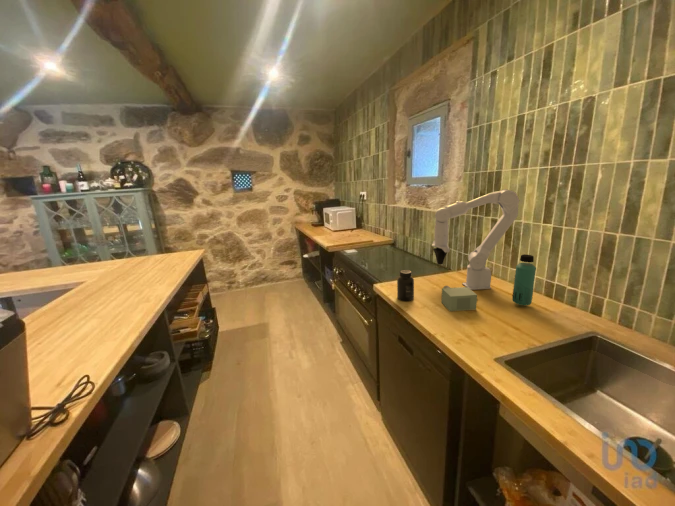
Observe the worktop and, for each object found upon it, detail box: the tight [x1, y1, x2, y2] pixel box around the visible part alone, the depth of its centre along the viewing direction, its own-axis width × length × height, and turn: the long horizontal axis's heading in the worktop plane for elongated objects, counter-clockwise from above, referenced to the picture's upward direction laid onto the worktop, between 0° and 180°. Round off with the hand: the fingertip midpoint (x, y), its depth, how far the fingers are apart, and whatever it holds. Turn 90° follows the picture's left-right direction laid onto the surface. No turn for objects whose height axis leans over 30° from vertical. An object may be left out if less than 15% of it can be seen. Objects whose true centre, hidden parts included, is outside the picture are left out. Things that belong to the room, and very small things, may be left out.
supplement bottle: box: [396, 269, 415, 302], centre depth 116 cm, size 7×7×12 cm
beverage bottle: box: [511, 254, 537, 306], centre depth 104 cm, size 6×7×20 cm
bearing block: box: [440, 286, 478, 312], centre depth 108 cm, size 10×8×6 cm
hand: (439, 263), depth 129 cm, fingers closed
